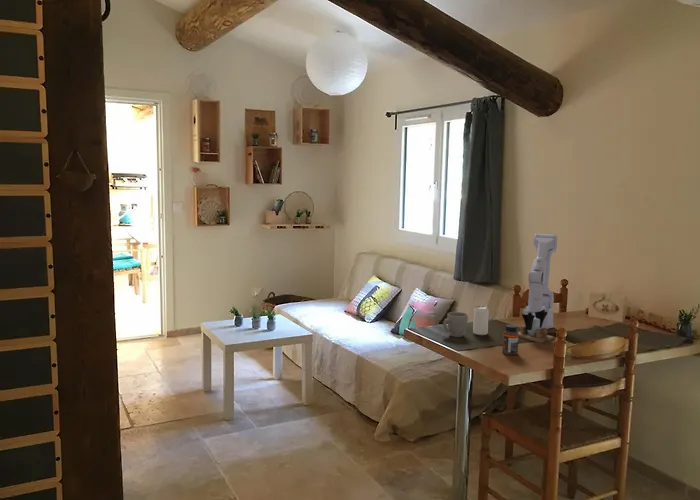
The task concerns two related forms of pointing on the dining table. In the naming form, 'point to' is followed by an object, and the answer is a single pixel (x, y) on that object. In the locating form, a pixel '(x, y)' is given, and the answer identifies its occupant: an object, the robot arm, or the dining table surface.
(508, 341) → the supplement bottle
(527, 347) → the dining table surface
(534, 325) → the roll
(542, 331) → the holder
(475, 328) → the can
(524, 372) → the dining table surface
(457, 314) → the mug
